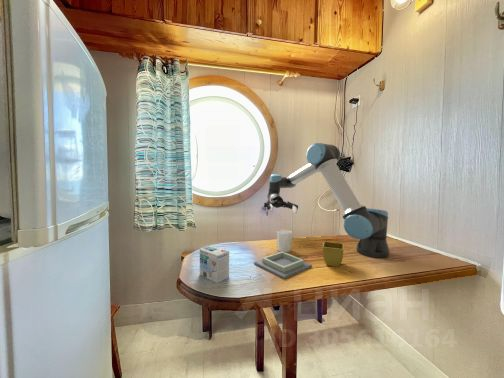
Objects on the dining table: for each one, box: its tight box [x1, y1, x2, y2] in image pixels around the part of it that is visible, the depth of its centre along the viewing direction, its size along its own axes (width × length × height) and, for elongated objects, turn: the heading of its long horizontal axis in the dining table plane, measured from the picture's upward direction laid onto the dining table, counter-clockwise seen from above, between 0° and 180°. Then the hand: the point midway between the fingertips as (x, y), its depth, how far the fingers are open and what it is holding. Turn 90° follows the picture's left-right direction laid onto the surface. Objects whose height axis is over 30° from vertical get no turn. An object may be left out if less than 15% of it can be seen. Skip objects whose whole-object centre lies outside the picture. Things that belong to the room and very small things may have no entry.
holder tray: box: [253, 251, 313, 280], centre depth 101 cm, size 18×18×3 cm
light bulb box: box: [199, 244, 230, 284], centre depth 89 cm, size 11×7×11 cm, turn 51°
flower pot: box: [322, 240, 345, 268], centre depth 102 cm, size 9×9×9 cm
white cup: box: [276, 229, 293, 253], centre depth 120 cm, size 8×8×10 cm
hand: (284, 210), depth 124 cm, fingers open, 13 cm apart
